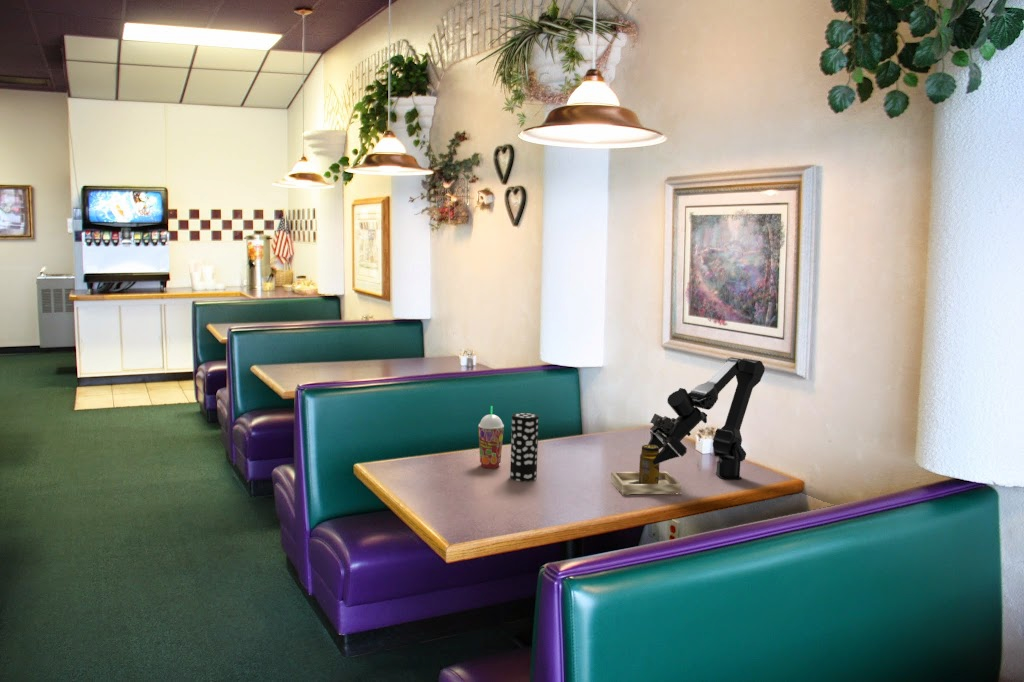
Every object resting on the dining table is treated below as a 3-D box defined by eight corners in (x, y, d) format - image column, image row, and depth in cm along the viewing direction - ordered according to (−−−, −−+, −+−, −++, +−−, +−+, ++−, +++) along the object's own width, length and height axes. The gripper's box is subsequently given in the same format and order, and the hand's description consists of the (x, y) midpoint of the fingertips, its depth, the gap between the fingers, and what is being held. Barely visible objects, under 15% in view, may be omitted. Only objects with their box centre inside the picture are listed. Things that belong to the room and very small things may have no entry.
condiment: (664, 485, 265) (666, 447, 263) (643, 489, 260) (645, 450, 259) (648, 479, 271) (650, 442, 269) (627, 483, 266) (629, 445, 265)
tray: (666, 480, 274) (667, 471, 273) (680, 494, 260) (681, 484, 260) (610, 481, 271) (611, 472, 271) (622, 495, 258) (622, 485, 257)
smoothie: (473, 467, 283) (474, 407, 280) (483, 461, 291) (485, 402, 288) (496, 470, 280) (498, 409, 277) (506, 464, 288) (508, 405, 285)
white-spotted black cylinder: (540, 476, 275) (542, 414, 272) (530, 483, 267) (532, 419, 265) (516, 472, 278) (518, 411, 276) (505, 479, 271) (507, 416, 268)
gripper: (657, 399, 273) (622, 434, 272) (678, 412, 254) (640, 449, 254) (680, 423, 275) (645, 458, 275) (702, 437, 257) (665, 474, 256)
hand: (648, 459), depth 265 cm, fingers open, 9 cm apart
